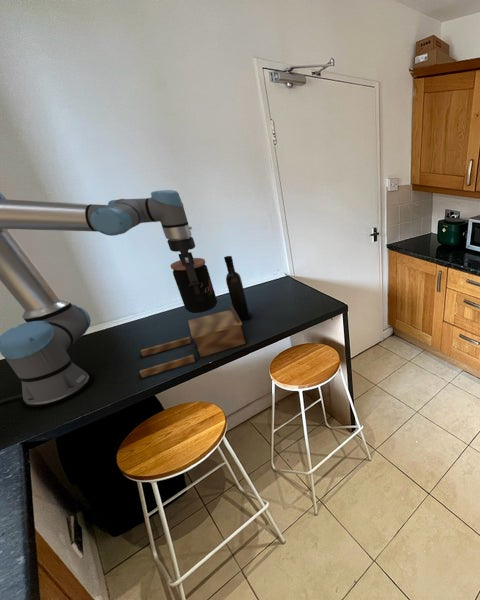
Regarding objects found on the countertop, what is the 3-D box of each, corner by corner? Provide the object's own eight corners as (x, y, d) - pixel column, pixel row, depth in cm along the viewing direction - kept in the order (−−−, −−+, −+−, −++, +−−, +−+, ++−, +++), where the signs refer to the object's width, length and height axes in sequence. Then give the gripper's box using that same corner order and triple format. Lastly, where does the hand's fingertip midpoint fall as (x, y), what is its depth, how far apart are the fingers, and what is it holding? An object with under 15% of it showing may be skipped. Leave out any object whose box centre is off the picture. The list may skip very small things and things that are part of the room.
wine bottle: (236, 321, 144) (219, 259, 130) (236, 316, 148) (220, 255, 135) (250, 319, 146) (235, 257, 133) (249, 313, 150) (235, 254, 137)
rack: (142, 378, 109) (128, 349, 104) (142, 355, 121) (130, 328, 115) (247, 345, 127) (240, 319, 122) (239, 328, 139) (232, 303, 133)
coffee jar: (203, 315, 114) (188, 268, 106) (179, 312, 116) (162, 266, 108) (224, 302, 123) (211, 258, 115) (201, 299, 125) (187, 256, 117)
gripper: (195, 243, 101) (214, 304, 111) (189, 229, 118) (206, 283, 128) (168, 247, 97) (189, 310, 107) (165, 232, 114) (184, 287, 124)
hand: (198, 295), depth 117 cm, fingers closed on coffee jar, 11 cm apart
